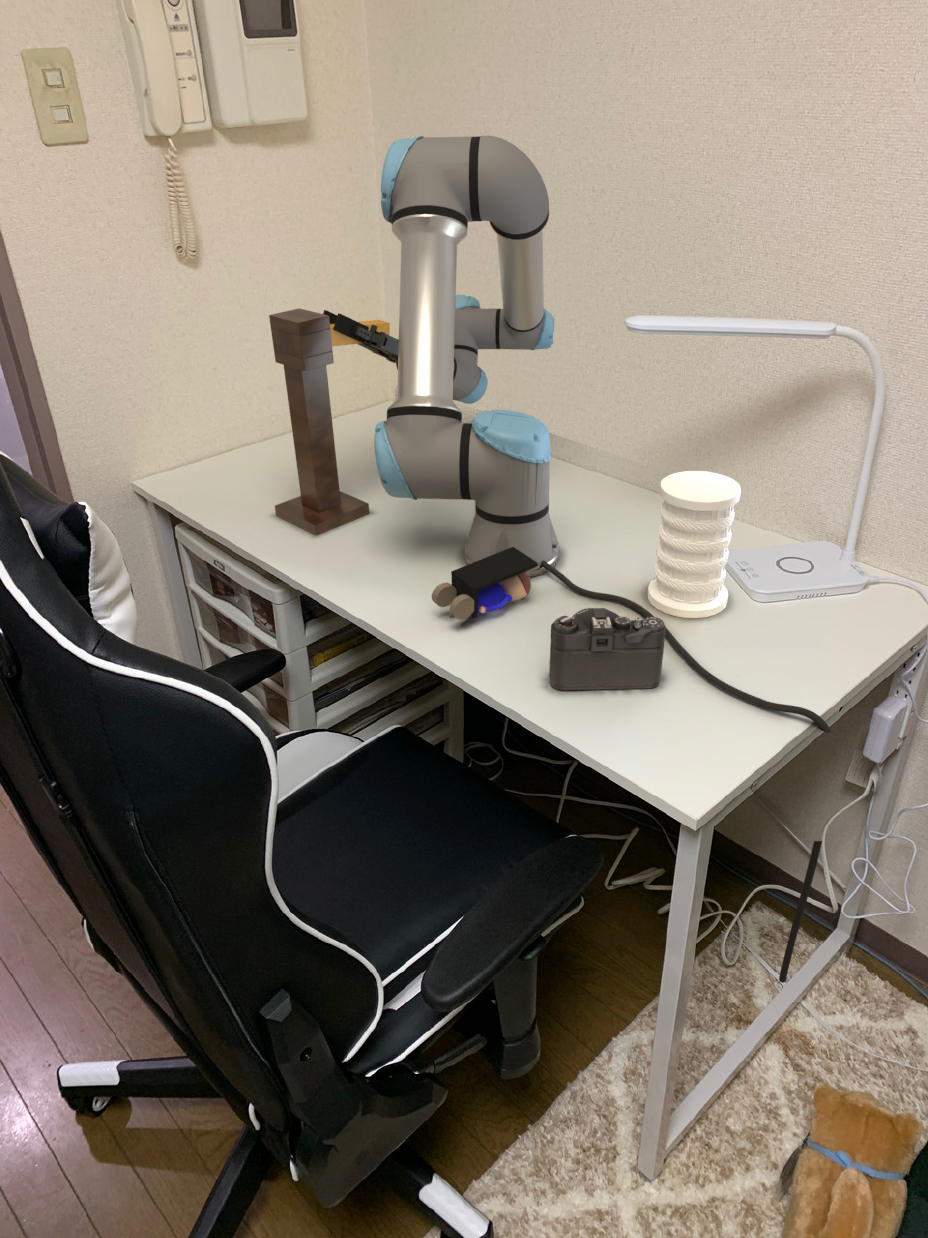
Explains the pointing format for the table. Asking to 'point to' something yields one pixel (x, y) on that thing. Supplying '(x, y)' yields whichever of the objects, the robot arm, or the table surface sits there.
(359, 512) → the stand
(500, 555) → the figurine character
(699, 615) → the decorative container
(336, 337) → the peg
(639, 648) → the camera
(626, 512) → the table surface
